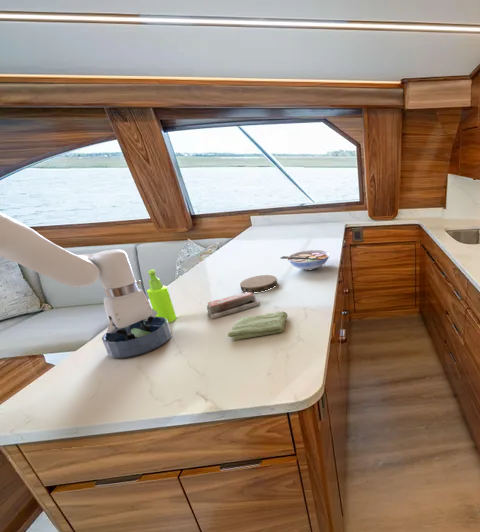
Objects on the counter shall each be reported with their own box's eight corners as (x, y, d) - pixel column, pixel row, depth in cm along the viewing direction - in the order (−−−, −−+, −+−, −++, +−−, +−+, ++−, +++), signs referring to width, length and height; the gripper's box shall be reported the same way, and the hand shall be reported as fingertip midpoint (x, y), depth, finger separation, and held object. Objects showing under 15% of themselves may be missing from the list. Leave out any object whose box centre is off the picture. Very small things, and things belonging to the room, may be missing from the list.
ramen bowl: (339, 262, 175) (338, 249, 172) (321, 276, 154) (319, 261, 151) (301, 260, 181) (299, 248, 178) (278, 273, 160) (276, 259, 157)
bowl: (128, 364, 88) (121, 347, 86) (97, 353, 94) (90, 337, 92) (183, 336, 102) (178, 320, 100) (153, 328, 108) (148, 313, 106)
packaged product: (209, 308, 111) (204, 300, 118) (212, 319, 113) (207, 311, 120) (259, 294, 122) (252, 287, 129) (261, 305, 124) (254, 297, 131)
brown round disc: (260, 279, 153) (258, 273, 152) (284, 282, 147) (283, 277, 146) (233, 291, 139) (232, 285, 138) (259, 295, 133) (258, 289, 132)
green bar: (156, 340, 97) (153, 333, 96) (144, 346, 94) (141, 338, 93) (137, 335, 101) (134, 327, 100) (125, 340, 98) (122, 333, 97)
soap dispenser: (174, 314, 118) (160, 266, 112) (177, 320, 113) (162, 271, 107) (156, 319, 114) (140, 270, 108) (158, 325, 110) (141, 275, 103)
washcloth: (238, 322, 110) (237, 315, 109) (288, 316, 114) (287, 309, 113) (227, 342, 98) (225, 333, 97) (283, 334, 102) (282, 326, 101)
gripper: (144, 278, 100) (160, 326, 106) (80, 299, 86) (103, 352, 92) (158, 281, 98) (174, 330, 104) (95, 302, 83) (117, 357, 89)
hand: (140, 340), depth 98 cm, fingers closed on green bar, 3 cm apart
